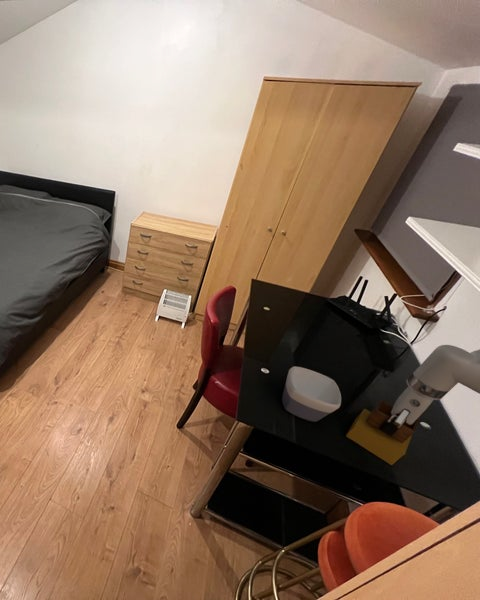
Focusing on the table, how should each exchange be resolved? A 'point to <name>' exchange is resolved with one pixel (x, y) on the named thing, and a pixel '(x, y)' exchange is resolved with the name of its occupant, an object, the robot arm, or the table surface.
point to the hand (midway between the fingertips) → (387, 425)
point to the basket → (384, 413)
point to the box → (376, 439)
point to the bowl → (310, 394)
